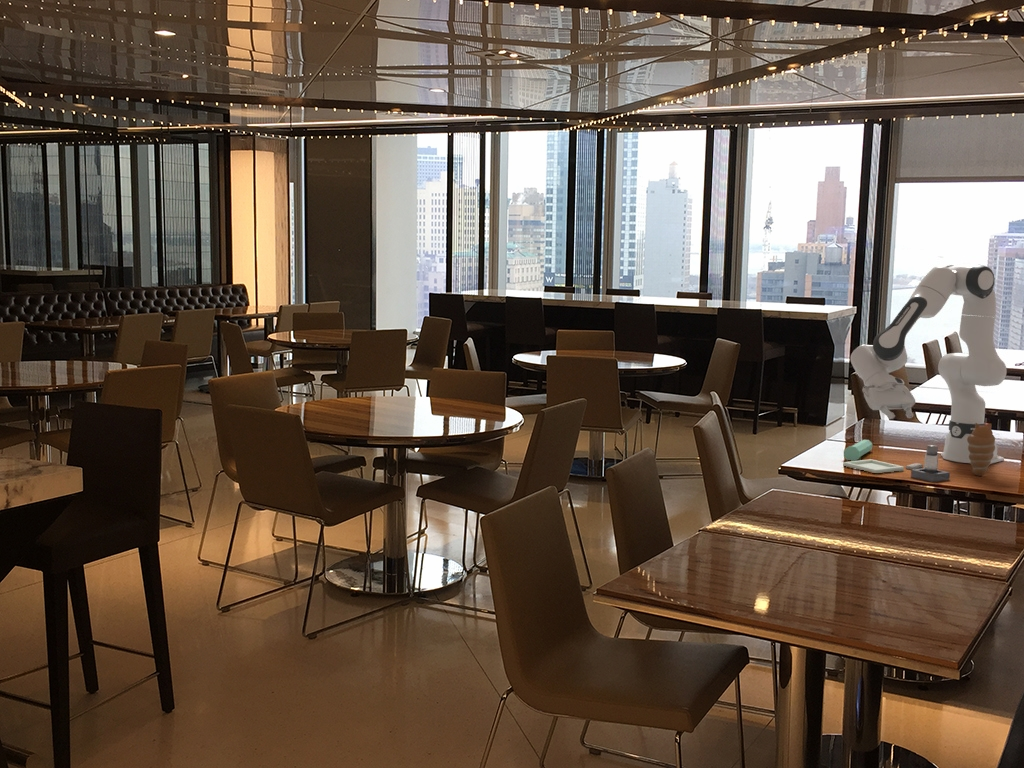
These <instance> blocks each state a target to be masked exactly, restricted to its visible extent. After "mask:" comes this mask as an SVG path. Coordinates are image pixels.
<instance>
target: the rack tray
mask: <svg viewBox="0 0 1024 768" xmlns="http://www.w3.org/2000/svg"><path fill="white" fill-rule="evenodd" d="M842 462H843V463H842V467H843V466H846V467H845V468H847V467H850V468H849V469H851V468H856V469H860V470H864V471H869V472H873V473H882V472H891V473H895V472H894V471H899V472H904V470H905V466H904V465H903V466H902V465H900V464H895V463H894V464H893V463H890V462H885V461H881V460H876V459H872V458H869V459H862V460H861V459H858V460H856V461H842ZM860 470H859V471H860ZM864 471H863V472H864Z"/></svg>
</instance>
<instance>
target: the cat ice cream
mask: <svg viewBox="0 0 1024 768" xmlns="http://www.w3.org/2000/svg"><path fill="white" fill-rule="evenodd" d="M967 441H968V443H969V445H968V450H969V452H970V454H969V459H970V460H971V463H970V466H971V468H972V473H973V474H974V475H976V476H978V477H981V476H985V475H986V473H987V472H988V467H989V466H990V465H991V464H992V463H991V459H992V458H993V452H994V450H995V445H994V443H996V438H995V435H994V434H993V430H992V423H987V425H986V426H985V425H979V424H977V423H975V429H974V430H973V432H972V434H971V435H969V436H968V438H967ZM990 463H991V464H990Z"/></svg>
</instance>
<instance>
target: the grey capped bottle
mask: <svg viewBox="0 0 1024 768" xmlns="http://www.w3.org/2000/svg"><path fill="white" fill-rule="evenodd" d="M938 450H939V446H938V445H934V444H927V445H926V452H925V455H924V464H923V468H924V472H927V473H932V474H934V473H937V470H938V466H939V465H938V464H939V454H938V453H939V451H938Z"/></svg>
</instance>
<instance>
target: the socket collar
mask: <svg viewBox="0 0 1024 768" xmlns="http://www.w3.org/2000/svg"><path fill="white" fill-rule="evenodd" d="M910 471H911V472H910V478H914V479H916V480H917V479H918V480H923V481H927V482H929V483H936V482H943V481H950V477H951V476H950V475H951V472H949V471H946V470H940V469H937V473H934V474H932V473H927V472H924V467H921V468H918V469H913V470H910Z"/></svg>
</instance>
